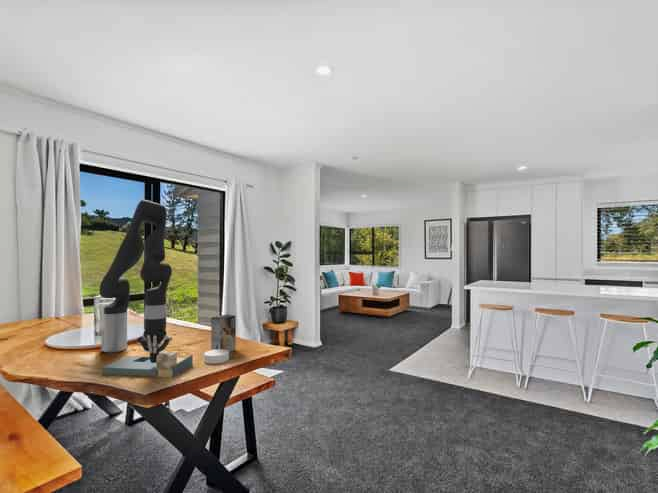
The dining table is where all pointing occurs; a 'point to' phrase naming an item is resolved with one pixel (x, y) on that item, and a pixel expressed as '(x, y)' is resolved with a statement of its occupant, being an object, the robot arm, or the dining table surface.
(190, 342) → the dining table surface
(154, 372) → the box
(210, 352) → the white ridged round container
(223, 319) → the coffee box
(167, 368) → the block
